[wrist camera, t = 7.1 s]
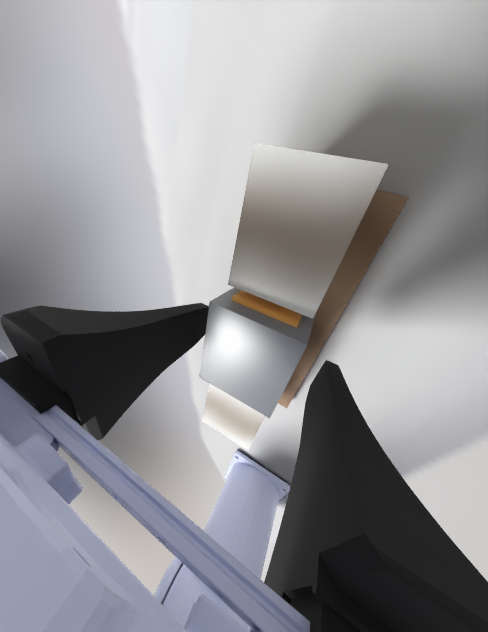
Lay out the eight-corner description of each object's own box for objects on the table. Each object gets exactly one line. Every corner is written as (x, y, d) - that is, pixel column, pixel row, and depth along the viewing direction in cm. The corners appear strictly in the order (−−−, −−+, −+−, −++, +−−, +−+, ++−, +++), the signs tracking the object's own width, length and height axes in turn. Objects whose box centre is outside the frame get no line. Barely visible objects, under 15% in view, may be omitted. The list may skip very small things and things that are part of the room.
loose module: (292, 357, 14) (269, 418, 9) (240, 332, 15) (199, 377, 11) (321, 295, 11) (309, 340, 7) (256, 272, 12) (210, 297, 8)
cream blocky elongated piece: (289, 399, 18) (269, 467, 13) (223, 364, 20) (184, 410, 15) (403, 199, 9) (478, 166, 4) (266, 172, 11) (209, 127, 6)
